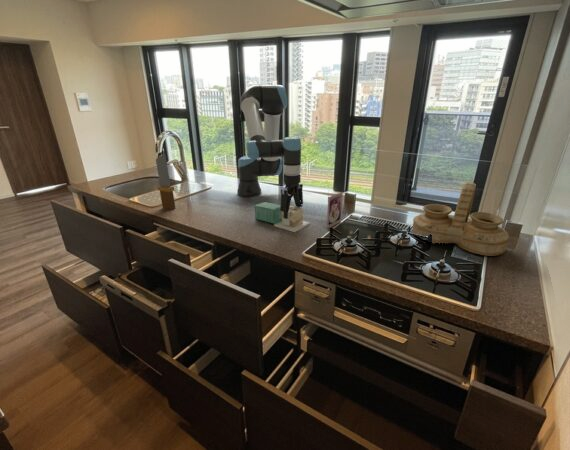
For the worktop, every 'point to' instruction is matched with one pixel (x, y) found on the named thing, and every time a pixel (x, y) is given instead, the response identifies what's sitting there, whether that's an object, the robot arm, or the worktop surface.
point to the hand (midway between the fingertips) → (292, 222)
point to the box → (268, 212)
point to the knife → (165, 183)
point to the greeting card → (334, 209)
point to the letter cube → (294, 216)
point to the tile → (292, 227)
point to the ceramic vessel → (463, 226)
